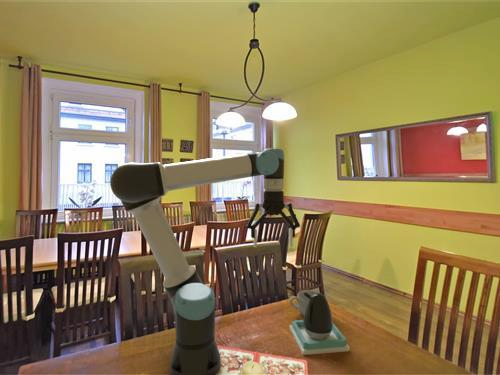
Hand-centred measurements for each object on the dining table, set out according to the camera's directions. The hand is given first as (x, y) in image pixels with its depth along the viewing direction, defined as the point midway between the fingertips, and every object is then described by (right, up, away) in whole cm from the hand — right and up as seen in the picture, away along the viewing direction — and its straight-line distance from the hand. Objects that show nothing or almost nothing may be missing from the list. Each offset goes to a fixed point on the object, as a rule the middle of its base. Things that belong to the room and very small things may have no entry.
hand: (273, 246), depth 109 cm
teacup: (+15, -31, +11) cm, 36 cm away
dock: (+15, -31, -7) cm, 35 cm away
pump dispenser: (+15, -30, -7) cm, 35 cm away
